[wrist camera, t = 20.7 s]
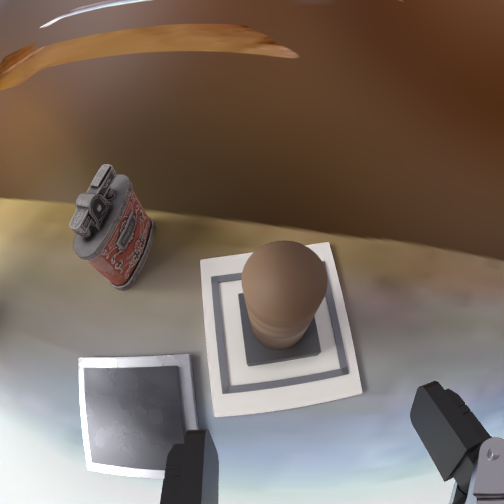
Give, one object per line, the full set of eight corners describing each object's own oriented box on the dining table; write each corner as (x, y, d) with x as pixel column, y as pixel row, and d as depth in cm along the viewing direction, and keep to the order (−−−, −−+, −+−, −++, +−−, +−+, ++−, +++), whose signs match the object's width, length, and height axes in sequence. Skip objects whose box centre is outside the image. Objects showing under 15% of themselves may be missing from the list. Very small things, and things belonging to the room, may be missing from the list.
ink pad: (92, 468, 19) (84, 471, 18) (82, 359, 24) (75, 356, 23) (206, 477, 19) (202, 481, 18) (191, 354, 24) (187, 352, 23)
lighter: (133, 294, 27) (79, 244, 18) (105, 285, 28) (48, 236, 19) (162, 222, 30) (127, 155, 22) (135, 218, 31) (96, 154, 22)
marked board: (215, 416, 22) (213, 417, 21) (201, 262, 28) (199, 258, 27) (360, 393, 22) (363, 393, 21) (327, 245, 28) (329, 241, 28)
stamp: (248, 366, 23) (233, 343, 13) (240, 301, 26) (222, 236, 16) (317, 355, 23) (352, 324, 13) (305, 291, 26) (326, 222, 16)
